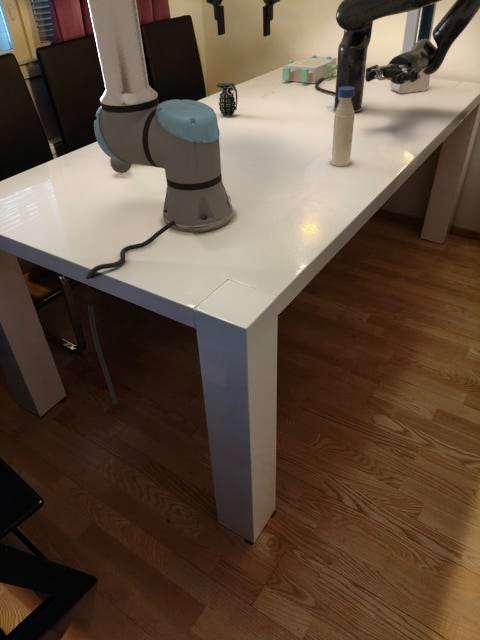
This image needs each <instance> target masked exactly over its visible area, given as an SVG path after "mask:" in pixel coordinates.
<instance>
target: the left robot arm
mask: <svg viewBox="0 0 480 640" xmlns="http://www.w3.org/2000/svg"><path fill="white" fill-rule="evenodd" d="M262 1H263V3H264V5H263V6H262V36H263V37H268V36H271V21H274V6H275V4H277V3H280V2H281V0H262ZM222 2H223V0H206V3H207V4H210V5H212V7H213V18H214V20H215V21H216V27H217V36H223V35H225V34H226V24H225V23H226V22H225V5H222V4H223V3H222ZM87 3H88V4H87V5H88V8H89V13H90V20H91V23H92V29H93V34H94V39H95V43H96V49H97V53H98V59H99V63H100V68H101V73H102V78H103V84H104V88H105V90H104V92H103V93H102V95H101V97H100V98H99V102H100V107H98V109H97V110H96V113H95V120H93V130H94V135H95V139H96V143H97V144H98V146H99V147H100V149H101V150H102V152H103V153H104V154H105V155H106V156H108V157H109V158H110V159H111V158H112V159H115V160H118V161H122V162H124V163H128V164H132V165H139V166H146V167H154V168H160V169H164V174H165V180H166V190H165V191H166V192H165V196H164V203H163V207H162V218H163V222H164V224H165V225H164V226H163V227H161V228H160V229H159V230H157V231H156V232H155V233H154V234H152V235H151V236H150V237H149V238H147V239H146V240H144V241H143V242H140V243H134V244H130V245H127V246H125V247H123V248H122V249H121V250H120V252H119V257H120V258H119V260H117V261H114V262H108V263H101V264H98V265H96V266H94V267H93V268H91V269H90V270H89V272H87V275H86V276H85V277H86V278H85V279H86V280H90V279H92V278H93V276H94V275H95V274H96V273H97V272H98V271H101V270H106V269H113V268H118V267H119V266H122V265H123V264H124V263H125V261H126V253H127V252H128V251H133V250H137V249H141V248H144V247H147V246H148V245H150V244H151V243H153V242H154V240H156V239H157V238H159V236H162V234H163V233H165V232H166V231H168V230H169V229H171V230H173V231H177V232H180V233H190V234H191V233H192V234H193V233H194V234H195V233H196V234H197V233H205V232H206V233H207V232H210V231H215V230H216V229H220V228H222V227H224V226H226V225H227V224H228V223H230V221H231V220H232V218H233V216H234V212H233V211H234V210H233V205H232V199H231V196H230V194H228V192H227V190H226V187H225V184H224V182H223V175H222V174H223V173H222V161H221V159H222V158H221V145H220V133H221V132H220V129H219V123H218V116H217V113H216V112H215V110H214V109H213V108H212V106H210V105H208V104H206V103H204V102H202V101H198V100H193V99H169V100H165V101H162V102H160V101H159V94H158V92H157V91H156V90H155V89H153V88H152V87H151V85H150V84H149V78H148V71H147V64H146V57H145V52H144V44H143V39H142V32H141V24H140V19H139V12H138V5H137V0H87ZM87 311H88V312H87V313H88V318H89V325H90V330H91V335H92V339H93V343H94V347H95V351H96V354H97V357H98V360H99V363H100V366H101V370H102V372H103V375H104V378H105V381H106V385H107V387H108V390H109V394H110V397H111V401H112V404H113V405H117V404H118V400H117V396H116V392H115V389H114V385H113V383H112V378H111V377H110V374H109V373H110V372H109V370H108V368H107V364H106V361H105V357H104V355H103V351H102V347H101V344H100V341H99V337H98V336H99V335H98V332H97V327H96V320H95V313H94V306H93V305H91V304H87Z"/></svg>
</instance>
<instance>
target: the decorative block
mask: <svg viewBox="0 0 480 640" xmlns="http://www.w3.org/2000/svg"><path fill="white" fill-rule="evenodd" d="M337 60H338V57H332V56H317V55H312V56H310V57H308V58H302V59H299V60H296V61H293V60H289V61H287V64H285V66H283V67H282V81H287V82H288V81H289V82H297V83H306V84H307V83H308V84H316V83H317V82H318V81H319V80H320V79H321V78H323V77H324V79H323V80H325V79H328V78H330V77H332V76H333V75H334V74H337Z"/></svg>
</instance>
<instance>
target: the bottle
mask: <svg viewBox="0 0 480 640" xmlns="http://www.w3.org/2000/svg"><path fill="white" fill-rule="evenodd" d="M353 109H354V108H353V104H352V101H351V98H341V97H340V101H339V104H338V107H337V108H336V111H334V118H333V133H332V135H333V136H332V147H331V160H330V163H331V165H332V166H336V167H346V166H349V165H350V164H351V155H352V145H353V134H354V125H355V113H354V110H353Z"/></svg>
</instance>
